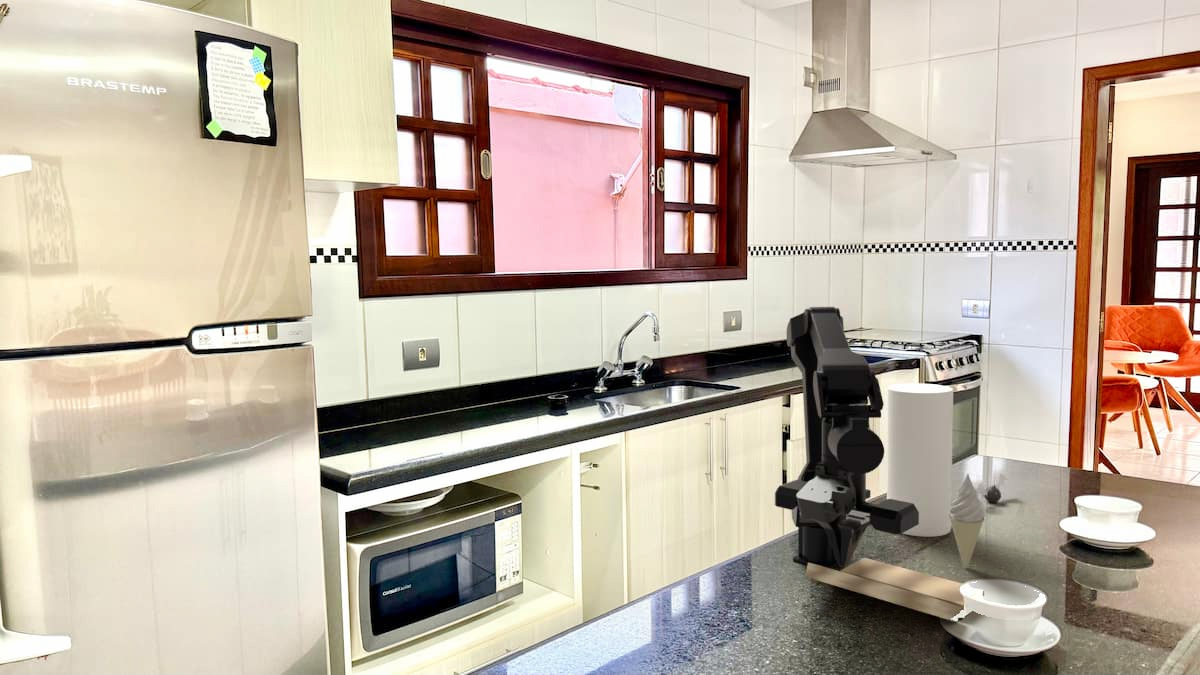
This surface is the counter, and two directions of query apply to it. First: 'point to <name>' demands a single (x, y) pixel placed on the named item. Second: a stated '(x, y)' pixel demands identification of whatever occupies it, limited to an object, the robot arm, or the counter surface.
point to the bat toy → (992, 490)
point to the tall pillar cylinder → (921, 453)
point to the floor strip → (907, 580)
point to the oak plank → (883, 591)
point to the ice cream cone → (966, 519)
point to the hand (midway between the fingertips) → (843, 566)
